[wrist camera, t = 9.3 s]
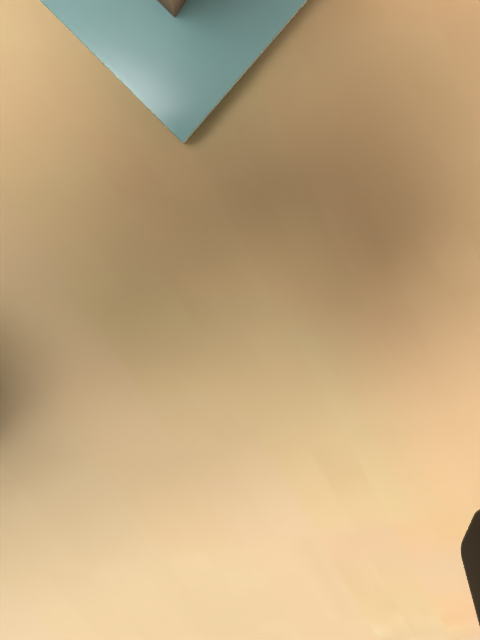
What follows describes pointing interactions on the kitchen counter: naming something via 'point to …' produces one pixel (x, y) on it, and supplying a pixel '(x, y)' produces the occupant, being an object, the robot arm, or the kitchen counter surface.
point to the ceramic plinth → (177, 48)
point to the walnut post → (172, 6)
